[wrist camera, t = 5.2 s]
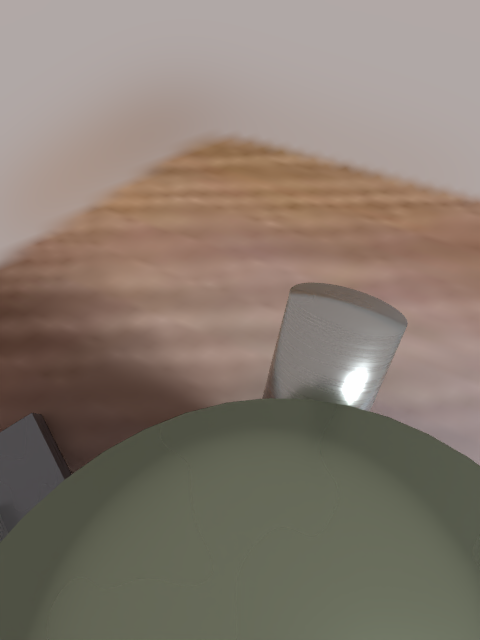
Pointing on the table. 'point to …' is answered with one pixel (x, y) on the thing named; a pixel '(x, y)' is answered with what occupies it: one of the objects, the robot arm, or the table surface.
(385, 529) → the spout can
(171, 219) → the table surface
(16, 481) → the port plate
